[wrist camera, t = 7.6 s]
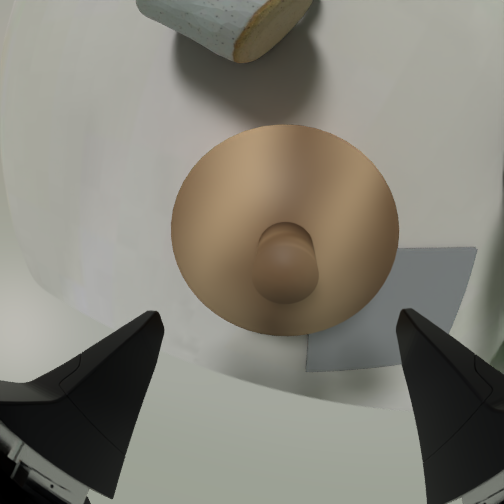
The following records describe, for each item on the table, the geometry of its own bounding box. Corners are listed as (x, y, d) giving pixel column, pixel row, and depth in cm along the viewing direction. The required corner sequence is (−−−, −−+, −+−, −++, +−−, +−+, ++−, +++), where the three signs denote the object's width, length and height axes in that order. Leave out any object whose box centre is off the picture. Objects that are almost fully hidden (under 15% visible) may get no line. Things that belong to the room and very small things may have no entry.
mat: (474, 247, 19) (477, 249, 18) (435, 355, 25) (437, 357, 24) (312, 250, 21) (312, 253, 20) (305, 368, 27) (305, 372, 26)
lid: (401, 128, 12) (434, 132, 8) (377, 326, 17) (390, 363, 14) (159, 138, 13) (124, 145, 10) (196, 327, 19) (181, 364, 16)
